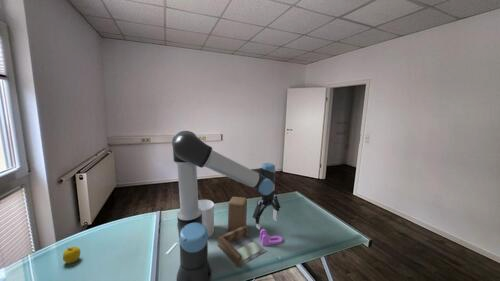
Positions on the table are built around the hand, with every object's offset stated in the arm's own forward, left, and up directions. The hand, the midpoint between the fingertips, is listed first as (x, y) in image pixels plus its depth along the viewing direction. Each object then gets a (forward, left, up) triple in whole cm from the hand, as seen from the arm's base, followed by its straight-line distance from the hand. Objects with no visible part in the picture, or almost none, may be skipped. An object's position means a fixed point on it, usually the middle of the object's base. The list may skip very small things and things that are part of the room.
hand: (266, 224), depth 115 cm
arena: (-15, -2, -10) cm, 18 cm away
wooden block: (-8, +18, -10) cm, 22 cm away
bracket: (+1, -4, -10) cm, 11 cm away
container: (-27, +29, -10) cm, 41 cm away
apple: (-88, +44, -10) cm, 99 cm away
